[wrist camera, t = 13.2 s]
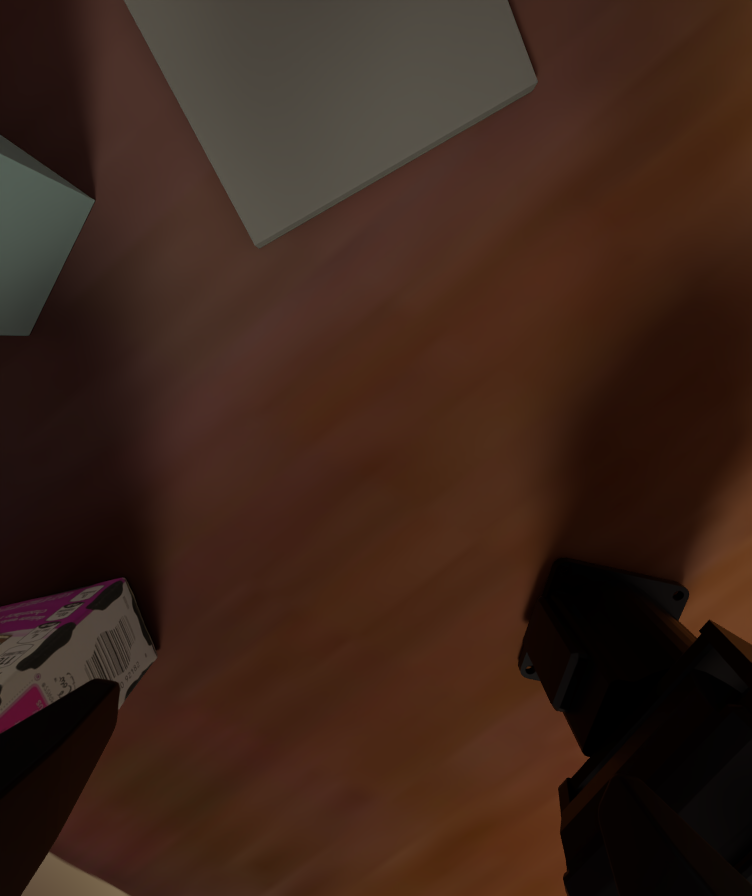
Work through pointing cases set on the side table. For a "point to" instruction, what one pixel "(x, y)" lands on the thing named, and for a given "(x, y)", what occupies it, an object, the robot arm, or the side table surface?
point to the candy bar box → (70, 646)
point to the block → (33, 234)
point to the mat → (328, 90)
